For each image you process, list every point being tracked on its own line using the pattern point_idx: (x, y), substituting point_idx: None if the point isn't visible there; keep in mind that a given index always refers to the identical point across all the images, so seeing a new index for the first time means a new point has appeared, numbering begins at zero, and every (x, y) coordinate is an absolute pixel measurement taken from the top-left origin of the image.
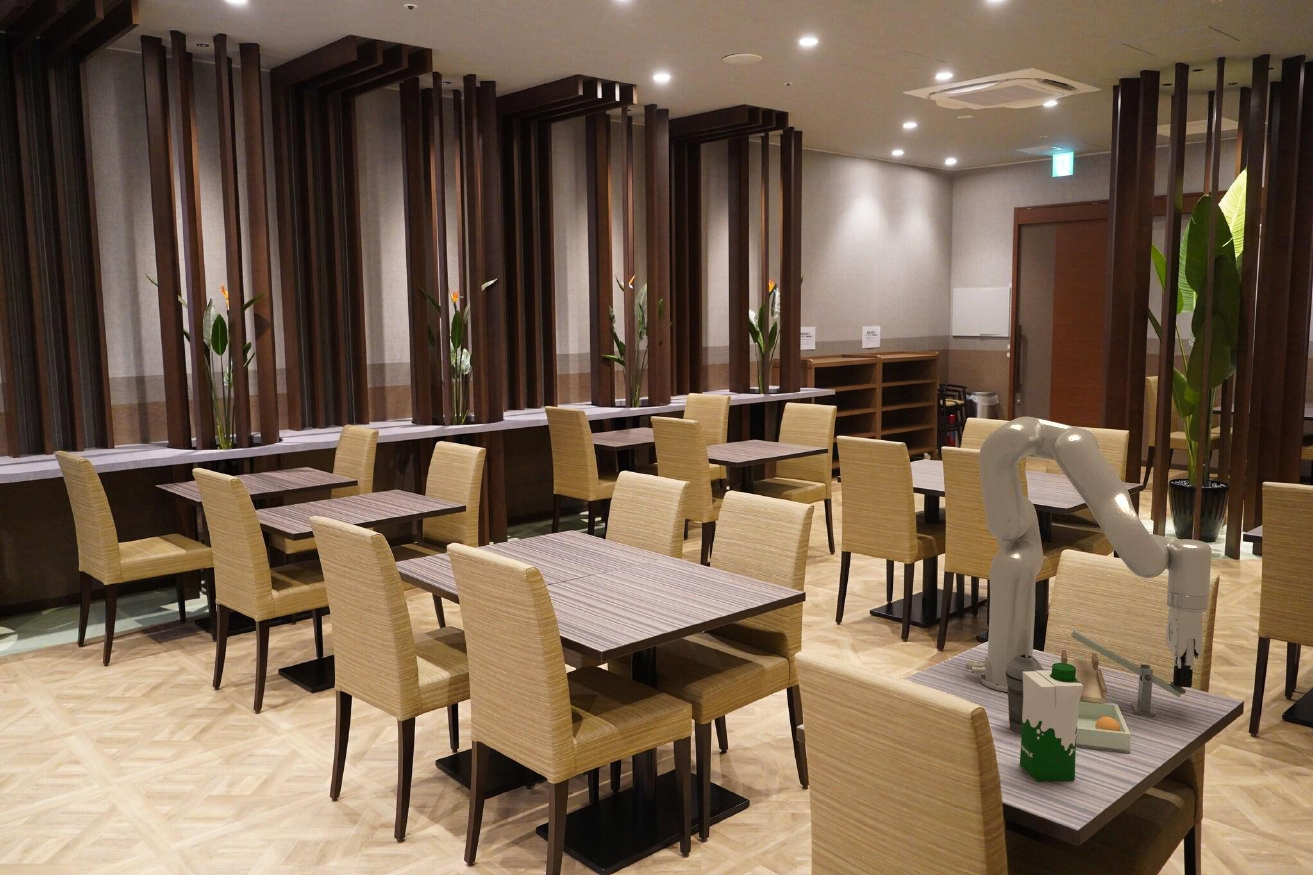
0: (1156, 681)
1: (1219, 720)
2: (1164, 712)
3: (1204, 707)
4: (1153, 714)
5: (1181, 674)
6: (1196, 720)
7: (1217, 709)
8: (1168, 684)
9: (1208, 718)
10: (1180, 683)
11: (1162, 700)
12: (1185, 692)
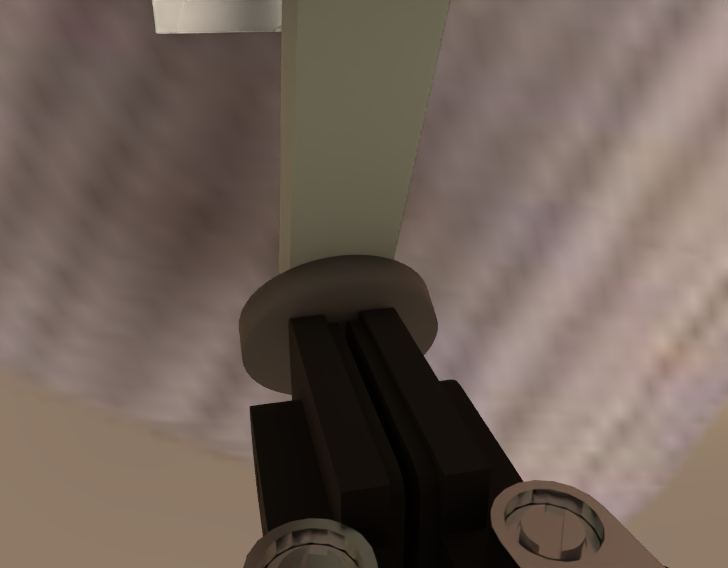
0: (284, 73)
1: None
2: None
3: (493, 410)
4: (153, 1)
5: (263, 501)
6: (211, 347)
7: None
8: (330, 240)
9: None
10: (296, 394)
11: (578, 151)
12: None
